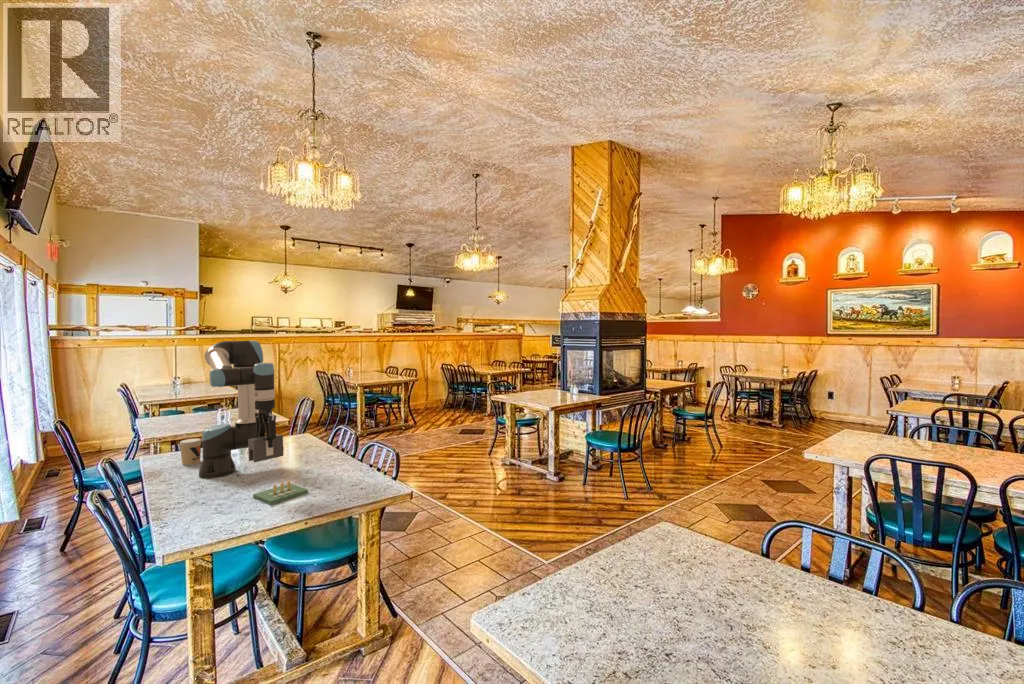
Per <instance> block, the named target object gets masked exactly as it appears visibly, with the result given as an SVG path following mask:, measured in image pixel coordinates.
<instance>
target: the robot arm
mask: <svg viewBox="0 0 1024 684" xmlns="http://www.w3.org/2000/svg"><path fill="white" fill-rule="evenodd" d="M204 360H205V363H206V364H207V365H209V366H210V371H209V385H210V387H212V388H217V387H218V388H223V387H234V386H237V409H238V410H237V412H238V413H237V414H238V417H237V419H236V420H235V422H234V425H233V426H231V424H230V423H222V424H221V423H220V424H215V425H212V426H209V427H207V428H205V429H204V430H203V431H202V435H201V446H202V460H201V461H202V462H201V464H200V468H199V469H198V477H199V478H201V479H215V478H221V477H225V476H228V475H231V474H234V473H235V472H236V464H235V462H234V460H233V458H232V451H234V450H242V449H248V439H252V438H257V437H263V436H266V438H267V439H265V441H266V456H269V455H273V439H274V438H276V434H277V427H276V426H277V425H276V420H277V415H276V414H273V410H272V409H275V408H276V400H275V398H276V391H275V366H274V364H273V363H272V362H264V353H263V349H262V346H261V342H259V341H257V340H224V341H220V342H216V343H214V344H212V345H211V346H210V347H209V348H207V350H206V351H205V353H204Z"/></svg>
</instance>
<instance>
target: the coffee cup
mask: <svg viewBox="0 0 1024 684" xmlns="http://www.w3.org/2000/svg"><path fill="white" fill-rule="evenodd" d="M179 447H180V449H179V450H180V456H181V464H184V465H183V466H190V465H189V464H193V465H197V464H199V463H200V462H201V454H202V453H201V451H202V450H201V449H202V438H188V439H183V440H180V442H179ZM196 463H197V464H196Z"/></svg>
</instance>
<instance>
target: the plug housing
mask: <svg viewBox="0 0 1024 684" xmlns="http://www.w3.org/2000/svg"><path fill="white" fill-rule="evenodd" d="M265 439H267V438H266V436H263V437H257V438H252V439H248V448H247V449H248V451H247V452H248V461H249V462H252V463H258V462H263V461H267V460H271V459H276V458H280V457H284V434H280V433H276V438H274V439H273V455H269V456H266V441H265Z"/></svg>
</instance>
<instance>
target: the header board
mask: <svg viewBox="0 0 1024 684" xmlns="http://www.w3.org/2000/svg"><path fill="white" fill-rule="evenodd" d="M286 481H287V483H286V484H285V483H284V482H280V486H277V484H273V485H272V488H270V489H266V490H263V491H260V492H257V493H253V494H252V498H253V499H255V500H258V501H259V502H262V503H265V504H267V505H269V506H272V505H275V504H278V503H281V502H284V501H287V500H291V499H293V498H296V497H300V496H303V495H306V494H309V489H308V488H304V487H301V486H299V485H296V484H293V483H291V480H286Z"/></svg>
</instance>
